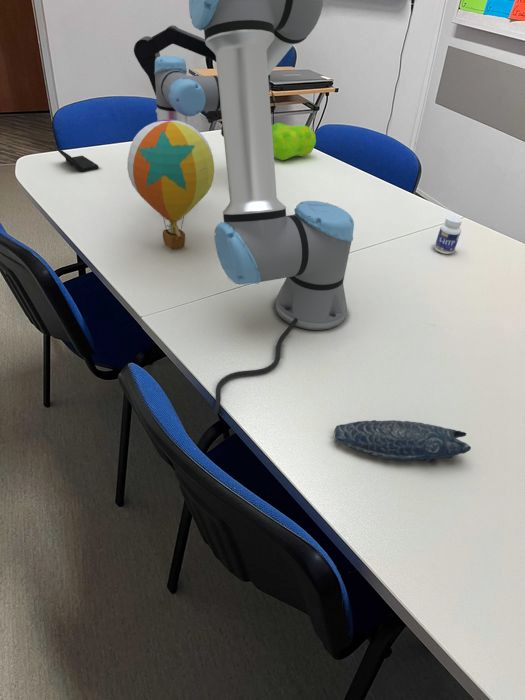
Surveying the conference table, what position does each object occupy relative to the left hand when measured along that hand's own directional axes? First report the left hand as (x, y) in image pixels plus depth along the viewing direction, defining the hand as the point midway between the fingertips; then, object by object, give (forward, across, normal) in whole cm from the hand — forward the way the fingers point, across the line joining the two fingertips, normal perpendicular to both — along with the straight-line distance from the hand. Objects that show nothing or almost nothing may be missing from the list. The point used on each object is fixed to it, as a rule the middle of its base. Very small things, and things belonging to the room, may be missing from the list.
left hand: (232, 151), depth 163 cm
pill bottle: (+9, +39, +60) cm, 72 cm away
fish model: (+9, +110, +34) cm, 115 cm away
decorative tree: (+9, -27, +14) cm, 32 cm away
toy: (+9, +48, -11) cm, 50 cm away
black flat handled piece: (+9, -2, -50) cm, 51 cm away
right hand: (+9, +26, -15) cm, 31 cm away
